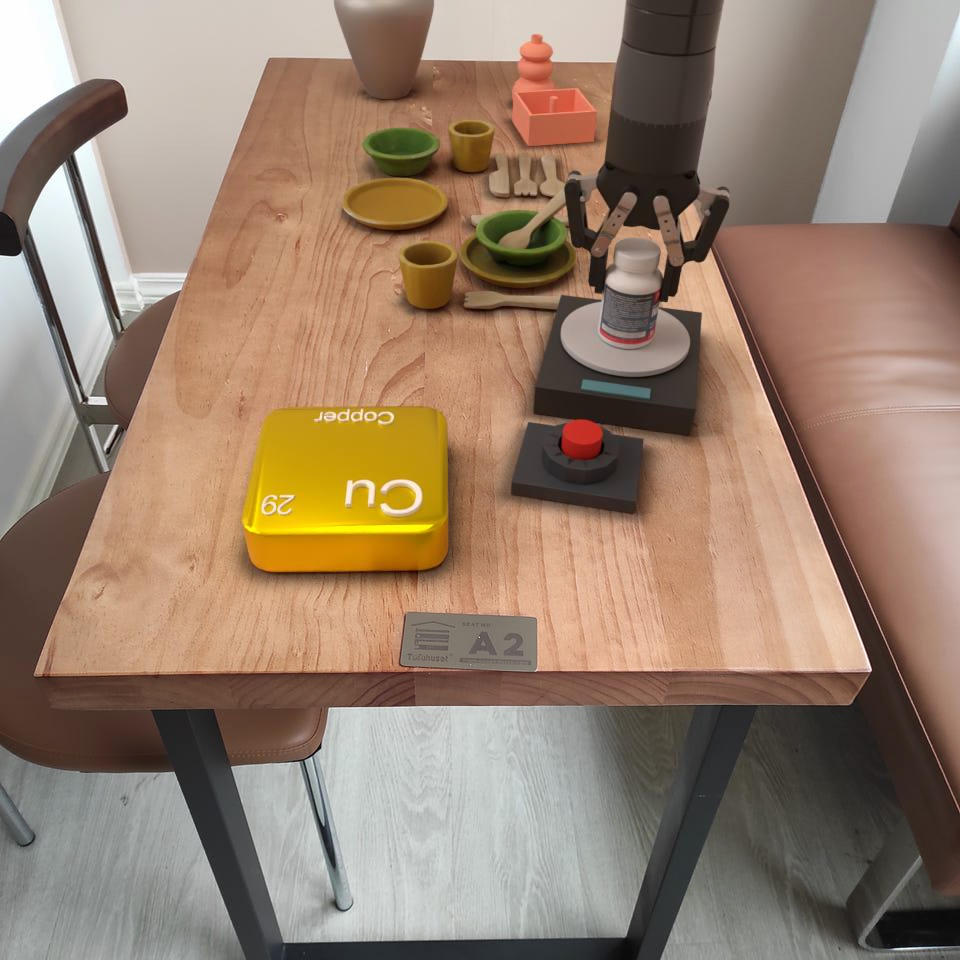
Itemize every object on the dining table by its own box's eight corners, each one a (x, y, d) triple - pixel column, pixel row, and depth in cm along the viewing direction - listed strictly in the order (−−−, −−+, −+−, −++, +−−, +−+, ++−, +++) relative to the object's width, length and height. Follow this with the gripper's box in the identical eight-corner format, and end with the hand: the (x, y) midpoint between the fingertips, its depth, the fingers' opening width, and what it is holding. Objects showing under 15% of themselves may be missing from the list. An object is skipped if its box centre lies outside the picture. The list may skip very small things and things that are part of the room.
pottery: (593, 141, 130) (601, 68, 123) (528, 146, 128) (532, 72, 121) (557, 95, 143) (562, 27, 136) (498, 99, 141) (500, 30, 134)
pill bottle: (657, 351, 84) (672, 263, 79) (599, 350, 84) (610, 262, 79) (649, 320, 88) (664, 234, 82) (595, 318, 88) (605, 233, 82)
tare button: (602, 439, 77) (604, 422, 76) (598, 463, 75) (600, 446, 73) (564, 433, 77) (566, 416, 76) (558, 457, 75) (560, 440, 74)
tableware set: (585, 320, 95) (591, 265, 91) (314, 314, 95) (308, 259, 91) (562, 155, 126) (566, 108, 122) (357, 151, 126) (354, 103, 121)
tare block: (641, 450, 80) (646, 423, 78) (633, 514, 74) (638, 486, 72) (527, 434, 81) (529, 406, 79) (510, 494, 76) (512, 466, 74)
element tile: (447, 443, 80) (447, 399, 77) (448, 572, 69) (448, 526, 66) (272, 444, 80) (264, 400, 76) (245, 575, 68) (235, 529, 65)
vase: (424, 113, 136) (420, -83, 120) (329, 104, 138) (312, -89, 121) (443, 79, 147) (442, -105, 130) (355, 72, 149) (343, -111, 132)
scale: (696, 337, 93) (703, 305, 91) (690, 436, 82) (697, 401, 79) (558, 319, 95) (561, 287, 93) (533, 413, 84) (535, 379, 81)
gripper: (561, 111, 70) (546, 305, 82) (754, 129, 68) (711, 326, 80) (574, 78, 76) (558, 264, 87) (753, 94, 74) (713, 282, 85)
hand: (631, 292), depth 83 cm, fingers closed on pill bottle, 5 cm apart
